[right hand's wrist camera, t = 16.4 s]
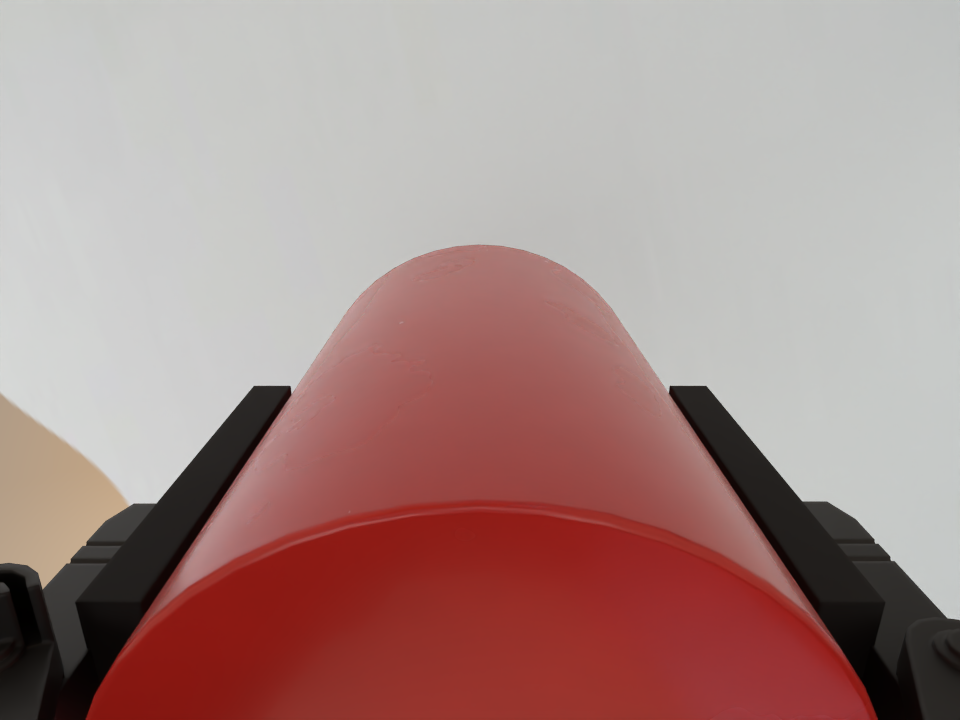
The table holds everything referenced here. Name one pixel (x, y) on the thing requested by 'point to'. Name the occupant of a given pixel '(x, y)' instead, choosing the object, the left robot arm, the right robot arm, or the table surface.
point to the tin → (481, 535)
